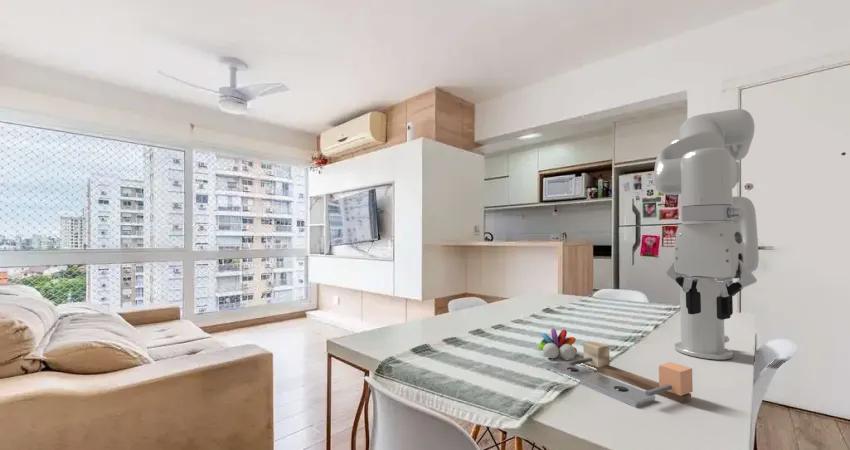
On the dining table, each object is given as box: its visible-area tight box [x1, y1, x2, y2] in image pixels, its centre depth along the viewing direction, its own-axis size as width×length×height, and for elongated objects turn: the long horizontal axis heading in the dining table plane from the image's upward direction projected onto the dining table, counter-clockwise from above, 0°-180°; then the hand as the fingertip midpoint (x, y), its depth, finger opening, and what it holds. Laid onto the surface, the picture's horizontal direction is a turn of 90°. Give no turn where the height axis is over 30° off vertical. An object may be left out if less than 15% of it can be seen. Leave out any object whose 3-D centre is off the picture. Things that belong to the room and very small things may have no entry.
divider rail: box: [567, 340, 692, 404], centre depth 80 cm, size 11×24×6 cm, turn 27°
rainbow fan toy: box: [537, 327, 578, 360], centre depth 98 cm, size 8×10×7 cm
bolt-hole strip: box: [546, 360, 656, 408], centre depth 80 cm, size 6×22×1 cm, turn 27°
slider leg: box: [645, 361, 694, 396], centre depth 71 cm, size 11×4×4 cm, turn 117°
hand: (708, 314), depth 68 cm, fingers open, 4 cm apart
